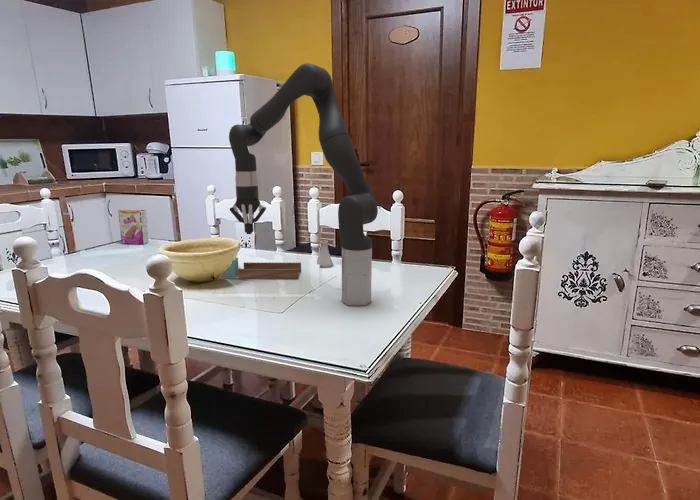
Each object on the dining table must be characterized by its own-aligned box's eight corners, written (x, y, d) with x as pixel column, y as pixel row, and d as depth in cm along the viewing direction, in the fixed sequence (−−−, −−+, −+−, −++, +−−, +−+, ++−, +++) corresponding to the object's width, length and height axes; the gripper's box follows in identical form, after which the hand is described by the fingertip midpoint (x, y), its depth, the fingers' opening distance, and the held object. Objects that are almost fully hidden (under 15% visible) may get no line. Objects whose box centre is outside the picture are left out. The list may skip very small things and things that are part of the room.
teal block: (235, 277, 170) (234, 260, 169) (213, 277, 170) (212, 260, 169) (238, 273, 175) (237, 257, 174) (216, 273, 175) (215, 257, 174)
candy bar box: (121, 244, 226) (117, 210, 222) (126, 242, 231) (123, 208, 227) (143, 245, 225) (140, 210, 221) (149, 242, 230) (145, 208, 226)
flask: (334, 263, 194) (334, 239, 192) (332, 268, 187) (332, 243, 185) (317, 263, 195) (316, 239, 192) (313, 267, 188) (313, 242, 185)
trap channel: (298, 282, 168) (298, 269, 167) (210, 282, 168) (209, 269, 167) (301, 274, 178) (301, 262, 177) (217, 274, 178) (216, 262, 177)
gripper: (224, 185, 162) (228, 236, 165) (264, 185, 162) (266, 235, 165) (230, 183, 169) (233, 231, 173) (267, 183, 169) (269, 231, 173)
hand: (249, 233), depth 169 cm, fingers closed
